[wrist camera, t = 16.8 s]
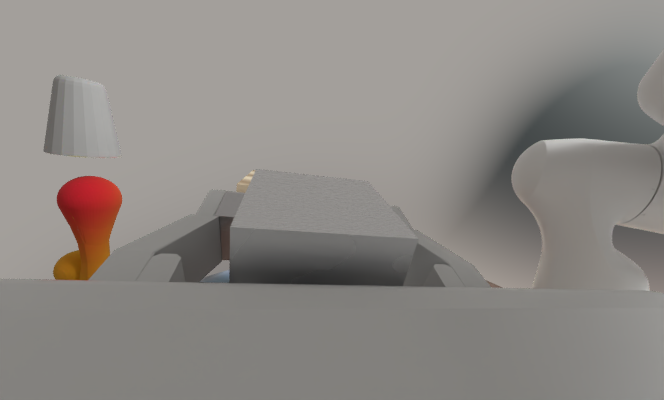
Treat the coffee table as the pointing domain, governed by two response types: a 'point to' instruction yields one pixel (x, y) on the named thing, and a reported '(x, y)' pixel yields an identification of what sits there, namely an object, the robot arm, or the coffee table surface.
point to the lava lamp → (89, 191)
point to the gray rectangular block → (317, 233)
